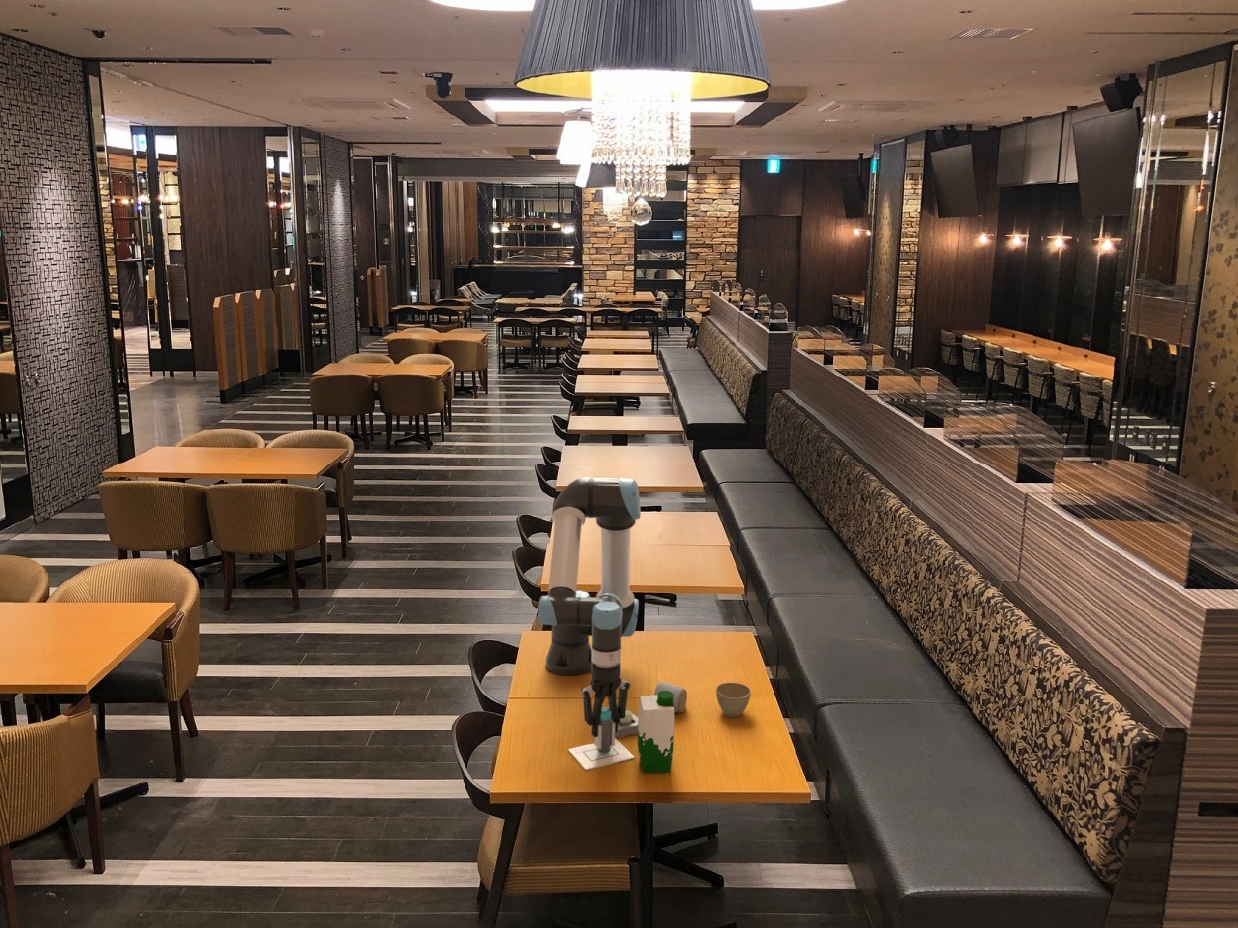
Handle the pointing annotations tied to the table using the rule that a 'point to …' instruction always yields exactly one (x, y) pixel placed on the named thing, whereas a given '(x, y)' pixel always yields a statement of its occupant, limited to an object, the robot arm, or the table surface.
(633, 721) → the button housing
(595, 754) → the sheet
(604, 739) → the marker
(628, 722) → the button cap
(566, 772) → the table surface
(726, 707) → the flower pot
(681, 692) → the ceramic mug
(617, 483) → the robot arm
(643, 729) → the milk carton
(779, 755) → the table surface
